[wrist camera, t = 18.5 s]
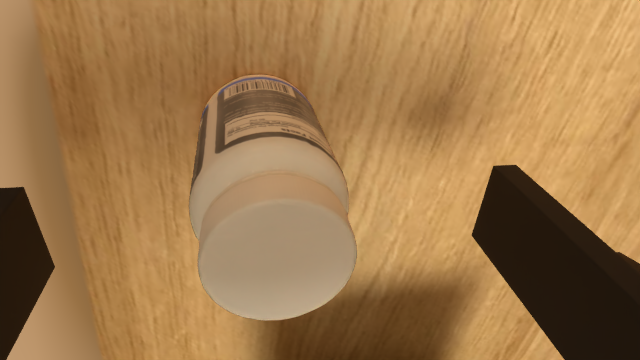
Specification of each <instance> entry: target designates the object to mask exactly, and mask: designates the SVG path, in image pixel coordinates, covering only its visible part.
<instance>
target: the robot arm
mask: <svg viewBox="0 0 640 360" xmlns="http://www.w3.org/2000/svg"><path fill="white" fill-rule="evenodd" d="M472 236H473V238H474V239H475V240H476V242H477V243H478V244H479V246H480V247H481V248H482V250H483V251H484V252H485V254H486V255H487V256H488V258H489V259H490V261H491V262H492V263H493V265H494V266H495V267H496V269H497V270H498V271H499V273H500V274H501V275H502V277H503V278H504V279H505V281H506V282H507V283H508V285H509V286H510V287H511V289H512V290H513V291H514V293H515V294H516V295H517V297H518V298H519V299H520V301H521V302H522V303H523V305H524V306H525V307H526V309H527V310H528V311H529V313H530V314H531V315H532V317H533V318H534V319H535V321H536V322H537V323H538V325H539V326H540V327H541V329H542V330H543V331H544V333H545V334H546V335H547V337H548V338H549V339H550V341H551V342H552V343H553V345H554V346H555V347H556V349H557V350H558V351H559V353H560V354H561V355H562V357H563V358H564V359H565V360H640V264H639V263H637V262H636V261H634V260H632V259H630V258H629V257H627V256H625V255H623V254H622V253H620V252H615V251H614V250H613V249H611V248H610V247H609V246H608V245H607V244H606V243H605V242H603V241H602V240H601V239H600V238H599V237H598V236H597V235H595V234H594V233H593V232H592V231H591V230H590V229H589V228H587V227H586V226H585V225H584V224H583V223H582V222H581V221H579V220H578V219H577V218H576V217H575V216H574V215H573V214H571V213H570V212H569V211H568V210H567V209H566V208H565V207H563V206H562V205H561V204H560V203H559V202H558V201H557V200H555V199H554V198H553V197H552V196H551V195H550V194H549V193H547V192H546V191H545V190H544V189H543V188H542V187H541V186H539V185H538V184H537V183H536V182H535V181H534V180H533V179H531V178H530V177H529V176H528V175H527V174H526V173H524V172H523V171H522V170H521V169H520V168H519V167H518V166H516V165H503V166H493V169H492V172H491V175H490V178H489V182H488V185H487V188H486V191H485V194H484V198H483V201H482V204H481V207H480V210H479V214H478V217H477V220H476V223H475V226H474V229H473V233H472ZM54 268H55V266H54V263H53V261H52V258H51V256H50V253H49V251H48V248H47V245H46V243H45V241H44V238H43V235H42V233H41V230H40V228H39V225H38V223H37V220H36V218H35V215H34V212H33V210H32V207H31V205H30V202H29V199H28V197H27V194H26V192H25V189H24V187H16V188H0V360H6V359H7V357H8V355H9V353H10V351H11V349H12V348H13V346H14V344H15V342H16V340H17V338H18V336H19V334H20V333H21V331H22V329H23V327H24V325H25V323H26V321H27V319H28V317H29V315H30V313H31V312H32V310H33V308H34V306H35V304H36V302H37V300H38V298H39V296H40V294H41V293H42V291H43V289H44V287H45V285H46V283H47V281H48V279H49V277H50V275H51V273H52V272H53V270H54Z"/></svg>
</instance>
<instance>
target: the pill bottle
mask: <svg viewBox="0 0 640 360" xmlns="http://www.w3.org/2000/svg"><path fill="white" fill-rule="evenodd" d="M348 210H349V195H348V189H347V184H346V180H345V178H344V175H343V172H342V170H341V169H340V167H339V165H338V163H337V161H336V158H335V156H334V154H333V152H332V150H331V147H330V145H329V143H328V141H327V139H326V137H325V134H324V132H323V130H322V128H321V126H320V124H319V122H318V120H317V117H316V115H315V113H314V111H313V108H312V106H311V105H310V103H309V101H308V100H307V98H306V97H305V96H304V95H303V93H302V92H301V91H300V90H298V89H297V88H296V87H295V86H293V85H292V84H290V83H289V82H287V81H285V80H283V79H280V78H278V77H275V76H270V75H247V76H243V77H239V78H237V79H235V80H233V81H231V82H229V83H227V84H225V85H224V86H223V87H221V88H220V89H219V90H218V91H217V92H215V94H214V95H213V96H212V97H211V98H210V100H209V101H208V103H207V104H206V106H205V108H204V111H203V114H202V117H201V121H200V126H199V134H198V142H197V150H196V156H195V163H194V171H193V178H192V184H191V191H190V198H189V214H190V220H191V224H192V228H193V230H194V233H195V235H196V237H197V239H198V241H199V253H198V272H199V277H200V280H201V283H202V285H203V287H204V289H205V291H206V292H207V294H208V295H209V296H210V297H211V298H212V299H213V300H214V301H215V302H216V303H217V304H218V305H219V306H221V307H222V308H224V309H226V310H227V311H229V312H231V313H233V314H236V315H238V316H241V317H244V318H250V319H255V320H266V321H267V320H284V319H289V318H294V317H298V316H300V315H303V314H305V313H308V312H311V311H313V310H315V309H317V308H319V307H321V306H323V305H324V304H326V303H327V302H328V301H330V300H331V299H333V298H334V297H335V296H336V295H337V294H338V293H339V292H340V291H341V290H342V289H343V287H344V286H345V285H346V283H347V282H348V280H349V278H350V277H351V274H352V272H353V270H354V267H355V264H356V258H357V246H356V241H355V237H354V234H353V231H352V228H351V225H350V223H349V220H348V216H347V214H348Z"/></svg>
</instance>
